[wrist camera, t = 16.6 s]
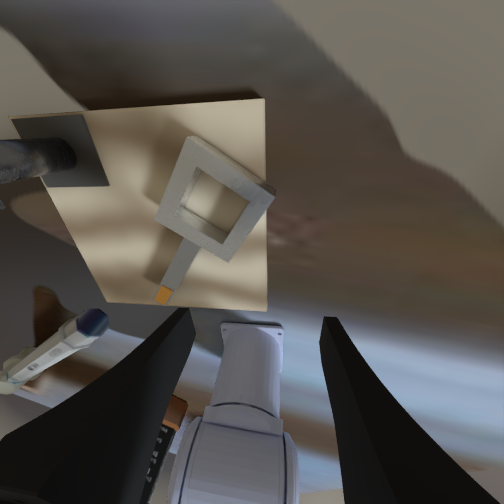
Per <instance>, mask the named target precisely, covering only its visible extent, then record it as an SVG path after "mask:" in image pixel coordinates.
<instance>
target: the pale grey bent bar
mask: <svg viewBox="0 0 504 504" xmlns="http://www.w3.org/2000/svg"><path fill="white" fill-rule="evenodd" d="M109 326H110V324H109V318H108V315H107V314H106V313H104V312H103V311H102V310H100V309H86V310H85V311H83V312H82V313H81V314H79V315H78V316H77V317H72V318H70V319H68V320H67V321H66V322H65V323H64V324H63V325H62V326H61V327H60V328H59V331H57V332H56V333H55V334H54V335H52V336H51V337H50V338H49V339H47V340H46V341H45V342H44V343H42V344H41V345H40V346H39V347H37V348H35V347H34V346H33V347H32V348H27V347H26V348H24V349H23V350H22V351H20V352H19V353H18V354H17V355H14V356H12V357H11V358H9V359H8V360H7V361H6V362H5V363H4V366H3V369H4V370H3V371H2V372H1V373H0V393H1V394H11V393H13V392H15V391H16V390H18V389H19V388H21V387H22V386H23V385H24V384H25V383H26V382H27V381H28V380H34V379H36V378H37V377H39V376H40V375H41V374H42V373H43V370H45V369H47V368H48V367H50V366H52V365H53V364H55V363H57V362H59V361H60V360H62V359H64V358H65V357H67V356H69V355H71V354H72V353H74V352H76V351H77V350H79V349H83V348H88V347H89V346H90V345H91V344H92V342H93V341H94V340H95V339H97V338H98V337H100V336H101V335H103V334H104V332H105V331H106V330H107V329H108V327H109Z"/></svg>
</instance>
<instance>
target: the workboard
mask: <svg viewBox="0 0 504 504" xmlns="http://www.w3.org/2000/svg"><path fill="white" fill-rule="evenodd" d="M8 118H9V120H10V122H11V124H12V125H13V127H14V129H15V131H16V133H17V135H18V137H19V138H20V139H30V138H50V137H57V138H60V139H62V140H64V141H66V142H67V143H68V144H69V145H70V146H71V147H72V149H73V150H74V152H75V155H76V158H77V164H76V166H75V168H73V169H71V170H66V171H61V172H56V173H51V174H47V175H42V176H40V178H41V180H42V181H43V183H44V185H45V187H46V189H47V191H48V193H49V195H50V196H51V198H52V200H53V202H54V204H55V206H56V208H57V210H58V211H59V213H60V215H61V217H62V219H63V221H64V223H65V225H66V226H67V228H68V230H69V232H70V234H71V236H72V238H73V239H74V241H75V243H76V245H77V247H78V249H79V251H80V252H81V254H82V256H83V258H84V260H85V262H86V264H87V266H88V268H89V269H90V271H91V273H92V275H93V277H94V279H95V281H96V283H97V284H98V286H99V288H100V290H101V292H102V294H103V295H104V297H105V299H106V301H107V302H113V303H131V304H148V305H161V304H159V303H157V302H155V301H153V300H152V299H153V297H154V295H155V293H156V291H157V289H158V287H159V285H160V283H161V281H162V279H163V277H164V275H165V273H166V271H167V269H168V267H169V265H170V263H171V262H172V260H173V258H174V256H175V254H176V252H177V250H178V248H179V246H180V244H181V242H182V240H183V238H184V237H183V236H181V235H179V234H178V233H176V232H174V231H172V230H171V229H169V228H167V227H166V226H164V225H162V224H160V223H159V222H157V221H155V220H154V218H155V216H156V213H157V211H158V208H159V206H160V203H161V201H162V198H163V196H164V193H165V191H166V188H167V185H168V183H169V180H170V178H171V175H172V173H173V170H174V168H175V165H176V163H177V160H178V158H179V155H180V153H181V150H182V147H183V145H184V142H185V140H186V137H189V136H199V137H200V138H202V139H203V140H205V141H206V142H207V143H209V144H210V145H212V146H213V147H215V148H216V149H218V150H219V151H220V152H222V153H223V154H225V155H226V156H228V157H229V158H231V159H232V160H233V161H235V162H236V163H238V164H239V165H241V166H242V167H244V168H245V169H247V170H248V171H249V172H251V173H252V174H254V175H255V176H257V177H258V178H260V179H261V180H262V181H264V182H265V183H266V149H265V99H250V100H236V101H221V102H207V103H193V104H179V105H164V106H150V107H136V108H122V109H107V110H93V111H80V112H65V113H50V114H38V115H37V114H36V115H23V116H8ZM248 202H249V201H248V200H247V199H245V198H244V197H242V196H241V195H239V194H238V193H236V192H234V191H233V190H231V189H230V188H228V187H227V186H225V185H224V184H222V183H221V182H219V181H218V180H216V179H215V178H213V177H212V176H210V175H209V174H207V173H206V172H204V171H203V170H202V171H201V173H200V175H199V177H198V179H197V181H196V183H195V186H194V188H193V190H192V192H191V194H190V196H189V198H188V200H187V203H186V205H185V207H184V208H186V209H187V210H189V211H190V212H192V213H194V214H195V215H197V216H199V217H200V218H202V219H204V220H205V221H207V222H208V223H210V224H212V225H213V226H215V227H217V228H218V229H220V230H222V231H223V232H225V233H226V234H228V233H229V231H230V230H231V228H232V227H233V225H234V224H235V222H236V221H237V219H238V217H239V216H240V214H241V213H242V211H243V210H244V208H245V207H246V205H247V203H248ZM167 306H182V307H199V308H216V309H233V310H250V311H267V231H266V211H265V213H264V214H263V215H262V217H261V218H260V220H259V221H258V222H257V224H256V225H255V227H254V228H253V229H252V231H251V232H250V234H249V235H248V236H247V238H246V239H245V241H244V242H243V243H242V245H241V246H240V248H239V249H238V250H237V252H236V253H235V255H234V256H233V257H232V259H231V260H230V262H229V263H227V262H226V261H224V260H222V259H220V258H219V257H217V256H215V255H214V254H212V253H210V252H208V251H207V250H205V249H203V248H202V247H201V249H200V251H199V253H198V254H197V256H196V258H195V259H194V261H193V263H192V264H191V266H190V268H189V270H188V271H187V273H186V275H185V276H184V278H183V280H182V281H181V283H180V285H179V287H178V288H177V290H176V292H175V293H174V295H173V297H172V298H171V300H170V301H169V303H168V304H167Z"/></svg>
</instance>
